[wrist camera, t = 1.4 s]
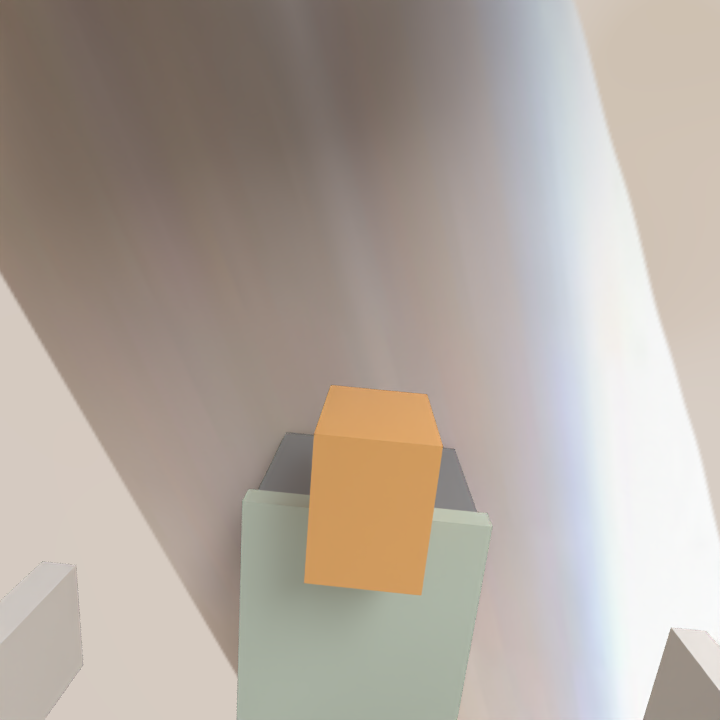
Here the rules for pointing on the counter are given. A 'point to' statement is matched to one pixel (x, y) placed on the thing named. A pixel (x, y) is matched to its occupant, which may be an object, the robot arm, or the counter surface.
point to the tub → (296, 466)
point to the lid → (360, 574)
